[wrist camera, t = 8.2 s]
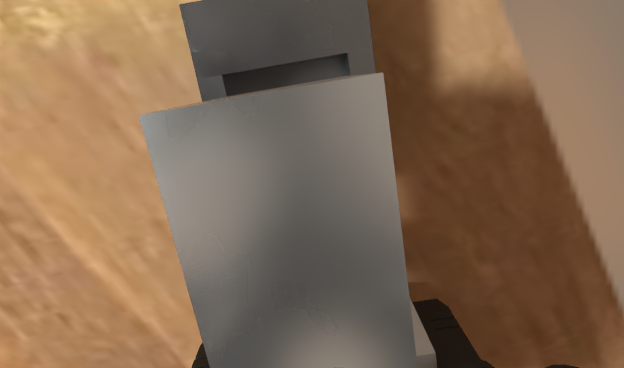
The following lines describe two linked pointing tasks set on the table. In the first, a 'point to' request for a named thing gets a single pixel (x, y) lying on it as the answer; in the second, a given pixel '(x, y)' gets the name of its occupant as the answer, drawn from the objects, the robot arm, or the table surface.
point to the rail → (275, 43)
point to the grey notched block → (289, 224)
